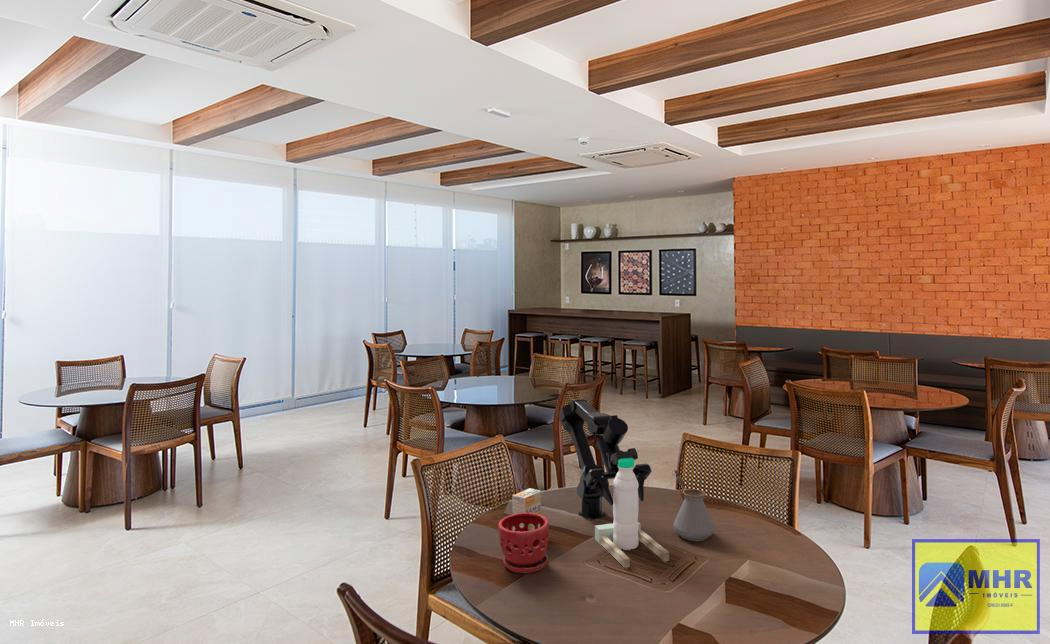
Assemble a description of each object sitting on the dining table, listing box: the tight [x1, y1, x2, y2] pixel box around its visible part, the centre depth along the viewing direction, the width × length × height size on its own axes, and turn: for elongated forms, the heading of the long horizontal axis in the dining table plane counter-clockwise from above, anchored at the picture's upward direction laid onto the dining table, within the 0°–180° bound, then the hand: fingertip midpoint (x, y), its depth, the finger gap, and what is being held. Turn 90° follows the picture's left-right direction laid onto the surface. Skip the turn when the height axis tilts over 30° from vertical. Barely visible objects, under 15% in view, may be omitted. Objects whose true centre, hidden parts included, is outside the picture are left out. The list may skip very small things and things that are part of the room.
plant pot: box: [498, 513, 550, 574], centre depth 156 cm, size 13×13×12 cm
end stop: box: [594, 521, 642, 544], centre depth 173 cm, size 3×13×4 cm, turn 107°
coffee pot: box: [671, 469, 715, 542], centre depth 179 cm, size 21×12×15 cm, turn 6°
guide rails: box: [598, 529, 670, 568], centre depth 164 cm, size 16×13×2 cm
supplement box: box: [511, 487, 542, 532], centre depth 175 cm, size 8×5×13 cm, turn 143°
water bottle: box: [612, 458, 640, 551], centre depth 167 cm, size 7×7×25 cm
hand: (627, 502), depth 166 cm, fingers open, 9 cm apart
